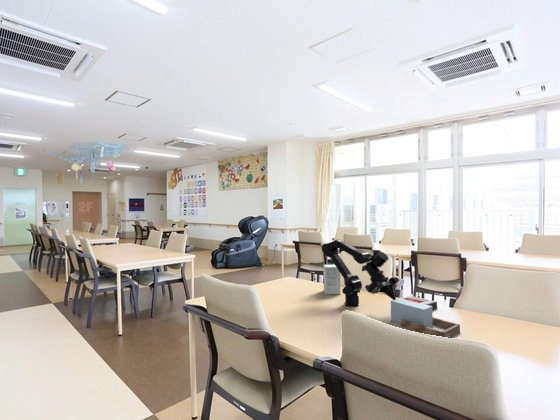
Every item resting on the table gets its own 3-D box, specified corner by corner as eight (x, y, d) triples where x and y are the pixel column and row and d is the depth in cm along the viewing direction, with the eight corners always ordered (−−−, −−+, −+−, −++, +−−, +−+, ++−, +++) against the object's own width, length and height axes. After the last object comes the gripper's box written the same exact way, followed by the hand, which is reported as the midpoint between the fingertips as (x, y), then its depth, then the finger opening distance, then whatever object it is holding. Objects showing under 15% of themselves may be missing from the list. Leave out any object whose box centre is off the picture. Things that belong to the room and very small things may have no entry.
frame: (401, 326, 135) (401, 319, 135) (417, 319, 143) (417, 312, 143) (443, 340, 120) (443, 332, 120) (460, 331, 129) (459, 324, 129)
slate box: (391, 319, 143) (390, 300, 143) (399, 316, 147) (399, 298, 147) (424, 330, 130) (424, 309, 130) (432, 326, 134) (432, 306, 134)
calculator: (411, 295, 171) (437, 300, 159) (411, 303, 171) (437, 308, 158) (398, 298, 165) (424, 304, 153) (399, 306, 165) (425, 313, 152)
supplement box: (340, 294, 186) (340, 267, 186) (325, 294, 186) (325, 267, 186) (337, 290, 196) (337, 264, 196) (323, 290, 196) (323, 264, 196)
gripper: (376, 279, 164) (395, 304, 155) (354, 285, 153) (373, 312, 144) (389, 266, 158) (410, 292, 149) (366, 271, 147) (387, 299, 138)
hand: (395, 299), depth 145 cm, fingers closed, pressing on slate box
